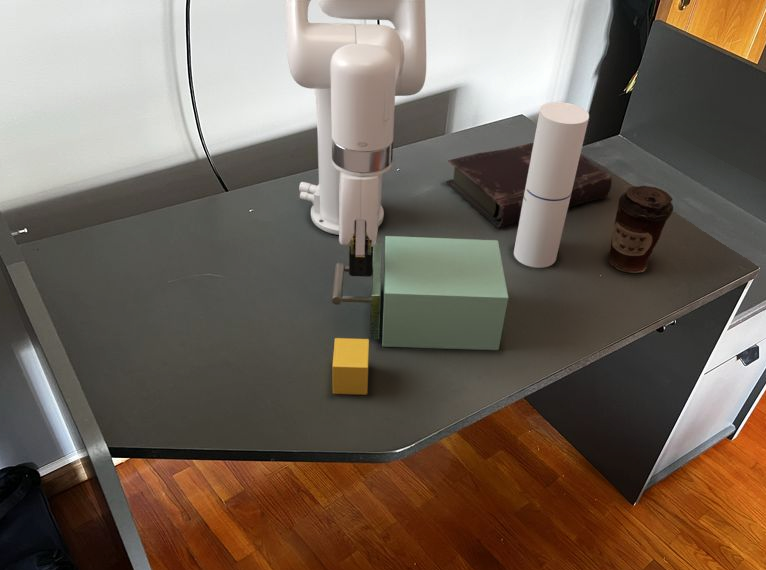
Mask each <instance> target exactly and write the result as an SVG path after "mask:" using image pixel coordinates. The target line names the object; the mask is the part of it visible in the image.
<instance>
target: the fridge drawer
mask: <svg viewBox="0 0 766 570" xmlns="http://www.w3.org/2000/svg"><path fill="white" fill-rule="evenodd" d="M382 251H383V243H381V242H376V243H375V244H374V245H373V268H372V276H371V296H356V295H355V296H354V295H353V296H352V295H343V292H344V280H345V273H349V265H346V266H345V264H344V263H342V262H337V263H336V264H334V265H335V266H334V273H333V283H332V292H331V303H332V304H333V305H336V306H337V305H341V304H342V303H366V304H367V303H368V304H371V305H370V335H369V336H370V339H371V340H372V339H373V340H379V339H380V319H381V293H382V292H381V290H382V289H381V287H382V255H383V253H382Z"/></svg>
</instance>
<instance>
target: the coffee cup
mask: <svg viewBox="0 0 766 570" xmlns="http://www.w3.org/2000/svg"><path fill="white" fill-rule="evenodd" d="M672 201H673V198H672V196H671V195H670V194H669V193H668V192H666V191H665V190H663V189H661V188H658V187H655V186H649V185H640V186H639V185H638V186H634V185H633V186H630V187H628V188H627V189H626V191H625V192H624V193H622V194H621V195H620V196H619V198H618V204H617V211H616V213H615V220H614V224H613V230H612V233H611V241H610V250H609V253H608V261H609V264H610V265H611V266H613V267H614V268H615V269H617V270H619V271H622V272H625V273H631V274H638V273H644V272H645V271H646V269H648V261H649V258H650V257H651V255H652V253H653V250H654V248H656V247H657V244H658V242H659V240H660V237H661V234H662V232H663V229H664V228H665V226H666V223H667V221H668V220H669V219H670V217H671V216H672V214H673V211H674V205H673V203H672Z"/></svg>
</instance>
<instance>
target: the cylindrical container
mask: <svg viewBox="0 0 766 570" xmlns="http://www.w3.org/2000/svg"><path fill="white" fill-rule="evenodd" d="M589 119H590V113H589V112H588V111H587V110H586V109H585V108H583V107H581V106H579V105H576V104H573V103H569V102H563V101H552V102H547V103H545V104H543V105H541V106H540V108H539V112H538V117H537V123H536V129H535V134H534V139H533V143H534V144H533V150H532V155H531V160H530V166H529V171H528V176H527V182H526V187H525V193H524V198H523V204H522V209H521V215H520V220H519V221H518V227H517V231H516V237H515V241H514V242H515V243H514V249H513V257H514V258H515V259H516V260H517V261H518V262H519V263H520V264H522V265H524V266H527V267H530V268H536V269H542V268H548V267H551V266H552V265H553V264H554V263H555V262H556V261H557V257H558V252H559V248H560V244H561V239H562V235H563V231H564V227H565V223H566V219H567V213H568V210H569V207H568V206H569V201H570V197H571V192H572V188H573V184H574V180H575V175H576V171H577V167H578V162H579V158H580V154H582V149H583V144H584V140H585V137H586V132H587V127H588V124H589V121H590V120H589Z"/></svg>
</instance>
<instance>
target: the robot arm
mask: <svg viewBox="0 0 766 570" xmlns="http://www.w3.org/2000/svg"><path fill="white" fill-rule="evenodd" d="M311 1H312V0H285V11H284V12H285V14H284V15H285V38H286V39H285V40H286V56H287V65H288V69H289V73H290V75H291V77H292V79H293V81H294V82H295V83H296V84H298V85H299V86H300V87H302V88H306V89H309V90H310V89H313V90H314V97H315V98H314V99H315V110H316V111H315V112H316V128H317V129H316V130H317V160H318V161H317V163H318V165H317V166H318V167H317V168H318V184H317V185H316V184H313V183H309V182H305V181H301V182H300V183H299V187H298V192H299V199H300V200H302V201H306V202H311V204H312V205H311V207H310V218H311V221H312V223H313V224H314V225H315V226H316V227H317V228H318V229H320V230H322V231H324V232H326V233H328V234H332V235H335V236H338V243H339V244H340V245H341V246H346V245H347V246H348V245H349V250H348V266H349V272H348V275H349V276H350V277H365V278H367V277H369V278H370V277H371V278H372V268H373V245H374V244H375V243H377V239H378V238H377V237H378V230H379V227H380V226H381V225H382V223H383V221H384V217H385V211H384V208H383V206H382V189H383V188H382V187H383V174H385V173H387V172H389V170H390V169H391V168H392V167H393V156H394V155H393V154H394V132H395V131H394V129H395V128H394V126H395V106H396V105H395V104H396V97H408V96H414V95H417V94H418V93H420V92H421V91H422V89H423V88H424V86H425V83H426V76H427V19H426V16H427V15H426V0H317V2H318V6H319V8H320V10H321V11H322V13H323V14H325V15H326V16H327V17H330V18H334V19H340V20H357V21H359V20H361V21H362V20H363V21H388V22H390V23H391V24H392V25H393V27H392V26H389V25H385V24H376V23H375V24H373V23H372V24H371V23H370V24H369V23H367V24H366V23H346V22H345V23H341V22H339V23H338V22H337V23H336V22H310V21H309V19H308V18H309V6H310V3H311Z"/></svg>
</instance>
